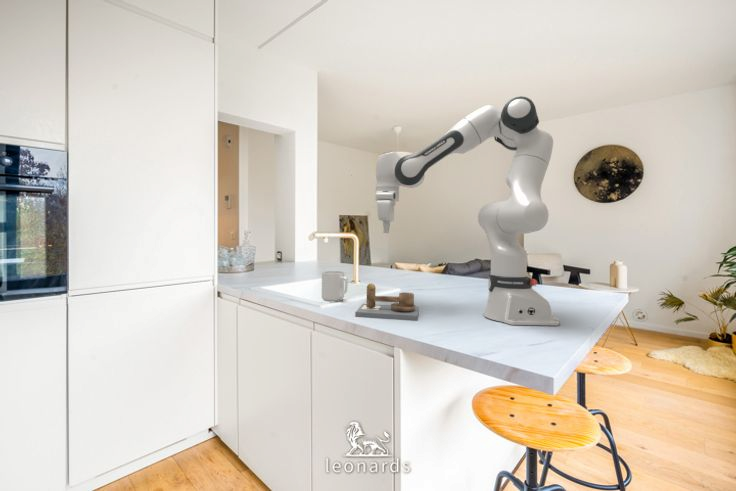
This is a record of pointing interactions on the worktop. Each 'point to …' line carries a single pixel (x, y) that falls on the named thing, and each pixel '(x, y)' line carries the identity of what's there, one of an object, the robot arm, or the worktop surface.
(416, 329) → the worktop surface
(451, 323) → the worktop surface
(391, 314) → the stand
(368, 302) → the brown wooden piece
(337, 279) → the mug
